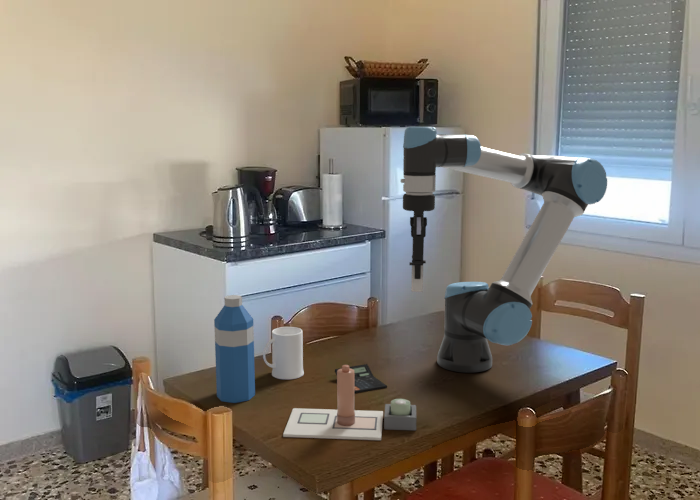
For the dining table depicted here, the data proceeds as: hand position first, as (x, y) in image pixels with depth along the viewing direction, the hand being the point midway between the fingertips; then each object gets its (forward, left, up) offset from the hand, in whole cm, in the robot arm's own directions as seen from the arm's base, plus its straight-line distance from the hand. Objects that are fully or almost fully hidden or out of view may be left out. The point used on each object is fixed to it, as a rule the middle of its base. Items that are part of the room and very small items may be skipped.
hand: (417, 291), depth 172 cm
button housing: (+4, +17, -26) cm, 32 cm away
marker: (+16, +19, -26) cm, 36 cm away
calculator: (+14, -7, -27) cm, 31 cm away
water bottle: (+44, +4, -27) cm, 52 cm away
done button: (+3, +17, -26) cm, 31 cm away
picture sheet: (+18, +19, -26) cm, 37 cm away
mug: (+35, -11, -27) cm, 45 cm away
